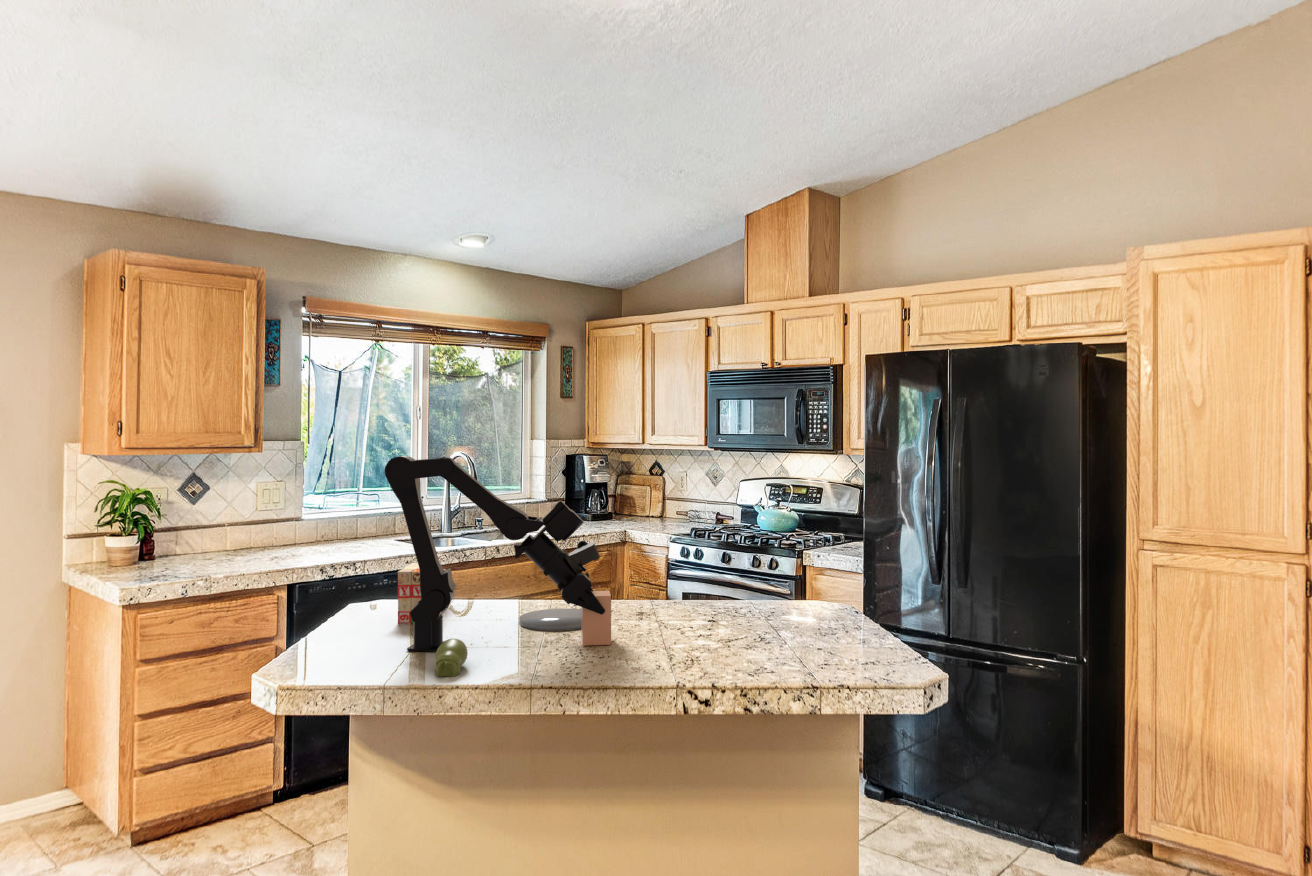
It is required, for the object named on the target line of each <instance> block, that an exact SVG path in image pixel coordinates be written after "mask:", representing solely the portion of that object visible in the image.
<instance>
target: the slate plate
mask: <svg viewBox="0 0 1312 876" xmlns="http://www.w3.org/2000/svg"><path fill="white" fill-rule="evenodd" d="M518 619H519V620H518V622H519V623H518V624H519V625H520V627H523V628H525V629H529V630H534V631H544V632H546V631H547V632H561V631H563V632H564V631H576V630H581V609H579V608H548V609H539V610H538V609H537V610H533V611H529V612H526V613H523V614H521V615H520V616H519V617H518Z"/></svg>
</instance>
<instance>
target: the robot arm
mask: <svg viewBox="0 0 1312 876" xmlns="http://www.w3.org/2000/svg"><path fill="white" fill-rule="evenodd" d="M383 471H384V475H385V478H386V480H387V483H388V484H389V486H390V488H391V490H392V492H393V493H394V495H395V497H396V498H397V500H398V501H399V504H400V506H401V510H402V513H403V516H404V519H405V523H406V527H407V529H408V533H409V537H410V542H411V544H412V547H413V552H414V553H415V557H416V561H417V562H416V563H418V565H419V569H420V591H421V600H420V601H419V602H418V603H417V604H416V605H415V607H414V608H413V609H412V610H411V612H410V615H411V617H412V620H413V624H412V625H413V643H412V644H411V645H410V646H408V647H406V651H408V652H409V651H410V652H411V651H412V652H437V649H438V647H439V646H440V645H441V644H442V643H443V642H444V641H445V640H443V639H444V638H443V637H444V636H443V634H444V628H443V627H444V625H443V624H444V622H443V621H444V619H443V618H444V616H443V615H442V613H443V611H445V610H446V609H448V607H449V606H450V604H451V602H452V601H453V598H454V597H455V590H456V588H457V584H456V583H455V581H454V579H453V572H452V568H451V567H450V568H448V569H446V570H444V569H445V568H444V567H443V566H442V564H441V562H440V559H439V556H438V553H437V549H436V546H435V542H434V539H433V535H432V531H431V528H430V525H429V521H428V518H427V517H428V516H427V515H426V511H425V507H424V504H423V500H422V495H421V493H422V492H421V491H422V490H421V489H422V487H421V485H422V484H421V481H422V480H421V479H425V478H435V477H441V478H443V479H444V480H445V481H446V482H448V483H449V484H450V485H451V486H453V487H454V489H457V491H459V492H460V493H461V494H462V495H464V496H465V497H466V498H467V499H468V500H469V501H471V502H472V503H473V504H475V506H477V507H478V508H480V510H482V511H483V512H485V514H486V515H487V516H488V518H489V519H490V520H491V522H492V523H493V524H494V525H495V527H496V528H497V529H498V530H499V532H501V534H502V535H503V536H504V537H505V538H506V539H508V540H510V541H519V540H522V539H524V538H525V536H527V534H529V535H528V536H527V537H526V538H525V539H524V540H522V542H521V543H520V544H519V543H514V546H513V548H514V558H515V559H519V558H520V557H521V556H522V555H523V554H524V555H526V557H528V558H529V559H530V560H531V561H532V562H533V563H534V564H535V565H536V566H537V567H538V568H539V569H540V570H541V571H542V574H543V575H545V577H548V578H549V579H550V580H552V582H553V583H554V584H556V587H557V588H558V589H559V590H560V592H561V593H560V594H561V599H562V600H563V601H564V602H565V603H566V604H567V605H574V606H577V607H579V608H581V607H583V608H585V609H588V610H591V611H593V612H596V613H599V614H601V615H602V614H603V613H604V612H605V609H604V608H603V606H602V605H601V603H600V602H599V601H598V599H597V598H596V596H595V595H594V594H593V592H592V591H595V590H594V588H593V587H592V580H591V579H590V575H589V571H587V568H586V566H585V565H587V564H589V563H592V562H596V561H598V560H599V559H601V555H600V553H599V551H598V549H597V546H596V544H595V543H594V541H590V542H589V543H588V542H587V541H585V539H582V540H580V541H578V542H577V546H576V549H574V550H572V551H571V552H568V551H567V550H566V549H562V548H560V547H559V546H558V545H557V543H558V542H559V541H564V542H566V541H567V540H568V539H569V538H570V537H572V535H573V534H574V533H575V532H576V531H577V530H578V529H579V528H581V526H582V525H583V524H584V523H585V521H584V520H583V519H582V517H580V515H578V514H577V513H576V512H575V511H574V510H573V509H571V508H569V506H568V505H567V504H565V503H564V502H563V501H562V500H558V501H557V502H556V504H554V507H553V508H552V509H551V510H549V512H548V513H547V514H545V516H544V517H539V516H531V515H528V514H527V513H526V512H524V511H523V510H521V509H519V508H518V507H516V506H514V505H513V504H511V503H508V502H507V501H505V500H503V499H501V498H499V497H497V496H496V495H495V494H494V493H493V492H491V491H490V490H489V489H488V488H486V486H484V485H483V484H482V483H481V482H480V481H478V480H477V479H476V478H475V477H474V476H472V475H471V474H470V473H468V472H467V471H466V470H465V469H463V467H462V466H460V465H459V464H458V463H457V462H456V461H455V459H454V458H453V457H451V456H450V457H449V456H442V457H438V458H425V459H415V458H413V457H411V456H408V455H400V456H399V455H398V456H395V457H392V458H391V459H389V460H388V461H387V463H386V464H385V467H384V470H383ZM541 528H542V529H541ZM540 529H541V530H540ZM539 530H540V531H539ZM538 531H539V532H538ZM534 532H537V533H536V534H535V535H531V534H530V533H534ZM545 532H546V533H547V534H548V535H549V536H550V537H551V538H552V539H554V540H555V541H556V542H557V543H555V542H554V541H553V540H552V539H551V538H550V537H549V536H548V535H547V534H546V533H545ZM584 572H585V573H584Z"/></svg>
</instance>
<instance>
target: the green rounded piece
mask: <svg viewBox="0 0 1312 876" xmlns="http://www.w3.org/2000/svg"><path fill="white" fill-rule="evenodd" d="M443 641H444V642H443V643H442V644H441V645H440V646H439V647H438V649H437V651H435V660H436V661H435V668H434V674H435V675H436V678H438V677H439V678H451V677H457V676H458V675H460V673H461V670H462V669H461V667H462V665H464V663H466V661H467V659H468V653H469V652H468V648H467V646H466V644H465V642H464V641H462V640H461V639H458V638H449V639H447V640H443Z"/></svg>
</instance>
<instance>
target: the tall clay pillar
mask: <svg viewBox="0 0 1312 876" xmlns="http://www.w3.org/2000/svg"><path fill="white" fill-rule="evenodd" d="M592 592H593V594H594V595H595V596H596V598H597V599H598V601H599V602H600V603H601V605H602V606H603V608H604V609H605V612H604V613H603V614H602V615H601V614H599V613H596V612H593V611H591V610H588V609H585V608H583V607H580V608H581V629H580V630H581V631H580V632H581V634H580V635H581V644H582V646H583V647H585V646H607V645H608V646H609V645H610V646H611V645H612V595H611V592H610V590H594V591H592Z"/></svg>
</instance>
